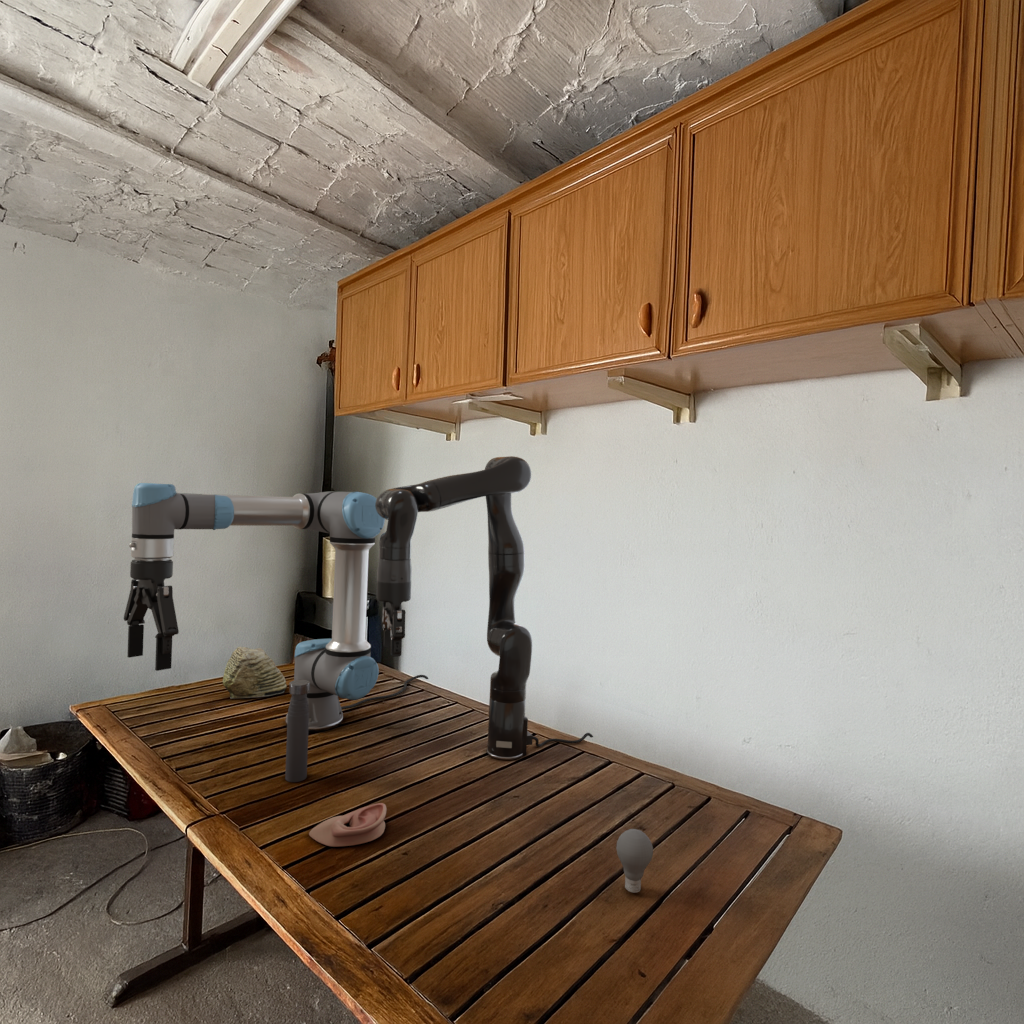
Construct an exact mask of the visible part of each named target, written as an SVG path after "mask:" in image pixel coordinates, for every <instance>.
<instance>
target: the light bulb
mask: <svg viewBox="0 0 1024 1024" xmlns="http://www.w3.org/2000/svg"><path fill="white" fill-rule="evenodd" d="M615 849H616V854H617V857H618V859H619V861H620V863H621V865H622V867H623V873H624V874H623V875H624V876H625V878H624V888H625V890H627V891H628V892H630V893H634V894H635V893H639V892H640V891H641V889H642V887H641V886H642V879H643V877H644V875H645V871H646V868H647V867H648V866H649V864H650V863H651V861H652V859H653V855H654V847H653V843H652V841H651V838H649V836H648V835H647V834H646V833H645V832H643V831H642V830H641V829H636V828H629V829H627V830H625V831H623V832H622V833H621V834H620V835H619V837H618V839H617V841H616V847H615Z"/></svg>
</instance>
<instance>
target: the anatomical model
mask: <svg viewBox="0 0 1024 1024" xmlns="http://www.w3.org/2000/svg"><path fill="white" fill-rule="evenodd" d="M386 816H387V805H386V804H385V803H383V802H378V803H373V804H370V805H368V806H364V807H360V808H358V809H355V810H353V811H351V812H348V813H346V814H344V815H343V814H342V815H337V816H333V817H331V818H328V819H326V820H323V821H322V822H320V823H318V824H317V825H315V826H314V827H313V828H311V830H309V832H308V835H309V837H310V838H311V839H313V840H315V841H316V842H318V843H319V844H321V845H325V846H327V847H333V848H335V847H348V846H349V847H350V846H357V845H361V844H365V843H368V842H372V841H374V840H376V839H378V838H380V837H381V836H382V835H383V834H384V832H385V829H386V822H385V819H386Z"/></svg>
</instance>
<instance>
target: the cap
mask: <svg viewBox="0 0 1024 1024" xmlns="http://www.w3.org/2000/svg"><path fill="white" fill-rule="evenodd" d="M309 689H310V682H309V681H307V680H294V679H293V680H292V681H289V685H288V693H289V694H290V695H291V696H292V695H304V694H307V693H309Z"/></svg>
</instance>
